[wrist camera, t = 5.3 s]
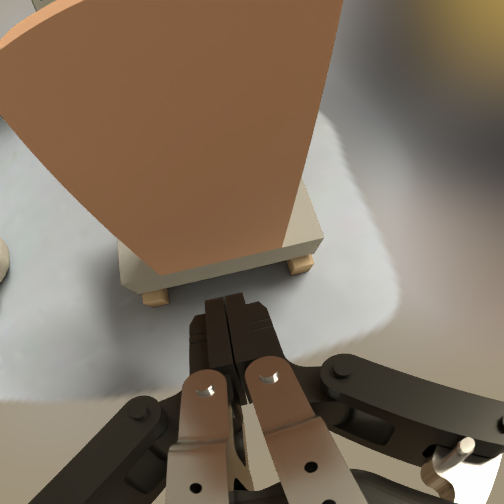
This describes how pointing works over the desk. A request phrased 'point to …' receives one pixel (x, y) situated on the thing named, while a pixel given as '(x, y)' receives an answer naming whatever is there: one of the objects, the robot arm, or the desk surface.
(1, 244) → the beige eared figurine
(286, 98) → the plunger
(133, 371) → the desk surface
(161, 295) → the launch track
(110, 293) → the desk surface
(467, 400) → the robot arm
